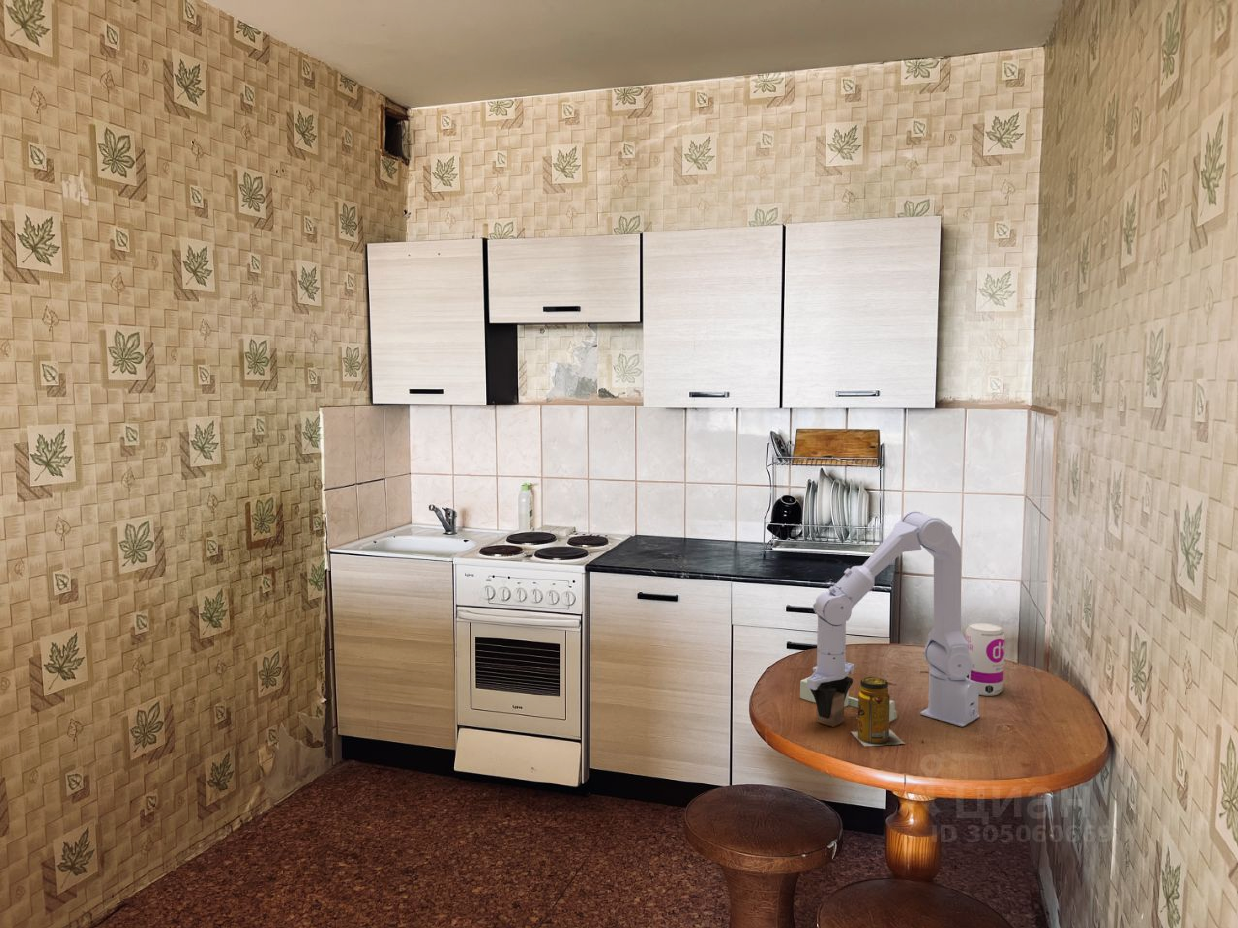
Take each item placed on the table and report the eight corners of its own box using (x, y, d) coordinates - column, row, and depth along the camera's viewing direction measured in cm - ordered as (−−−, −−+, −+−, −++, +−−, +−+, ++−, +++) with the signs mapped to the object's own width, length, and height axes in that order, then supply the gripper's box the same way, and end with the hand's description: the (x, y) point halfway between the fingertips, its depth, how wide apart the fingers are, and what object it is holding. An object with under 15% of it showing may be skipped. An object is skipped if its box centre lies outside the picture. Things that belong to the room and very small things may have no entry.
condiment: (850, 732, 175) (851, 675, 174) (890, 730, 176) (891, 673, 175) (863, 747, 168) (865, 687, 167) (905, 745, 169) (907, 686, 168)
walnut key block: (844, 721, 180) (844, 693, 179) (833, 726, 177) (833, 698, 177) (827, 716, 183) (828, 688, 182) (816, 721, 180) (817, 693, 179)
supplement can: (1010, 693, 195) (1013, 629, 194) (982, 698, 192) (985, 633, 191) (983, 681, 203) (985, 619, 201) (956, 686, 200) (958, 623, 198)
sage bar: (896, 718, 182) (897, 699, 182) (884, 724, 179) (884, 706, 178) (812, 692, 197) (813, 675, 197) (799, 697, 194) (800, 680, 193)
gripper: (834, 639, 186) (833, 699, 188) (794, 654, 176) (794, 718, 178) (863, 646, 181) (862, 708, 182) (824, 662, 171) (823, 727, 173)
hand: (830, 713), depth 180 cm, fingers closed on walnut key block, 4 cm apart
